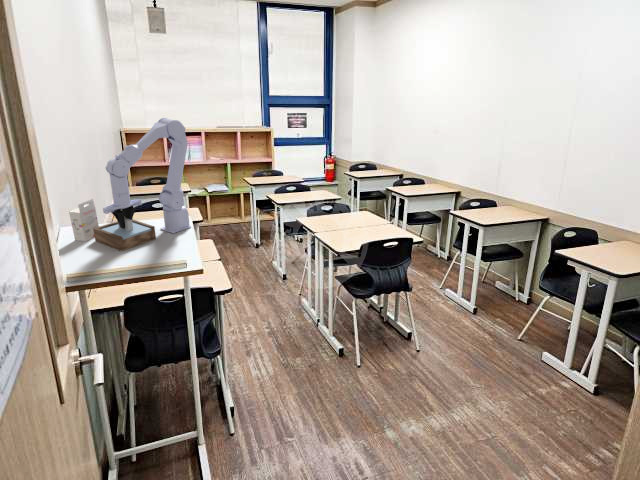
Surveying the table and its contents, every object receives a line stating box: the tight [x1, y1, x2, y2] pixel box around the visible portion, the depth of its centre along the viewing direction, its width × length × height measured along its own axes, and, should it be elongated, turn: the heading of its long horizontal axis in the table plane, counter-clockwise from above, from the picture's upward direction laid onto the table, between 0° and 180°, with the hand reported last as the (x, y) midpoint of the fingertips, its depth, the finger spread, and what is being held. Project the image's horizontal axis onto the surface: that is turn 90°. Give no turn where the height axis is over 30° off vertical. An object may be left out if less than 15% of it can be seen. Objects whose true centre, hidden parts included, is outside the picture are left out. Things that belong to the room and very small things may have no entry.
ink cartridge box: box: [68, 198, 100, 242], centre depth 166 cm, size 9×5×15 cm, turn 168°
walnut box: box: [93, 218, 157, 252], centre depth 166 cm, size 15×16×5 cm
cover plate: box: [102, 218, 151, 240], centre depth 164 cm, size 12×14×5 cm
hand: (125, 227), depth 164 cm, fingers closed on cover plate
